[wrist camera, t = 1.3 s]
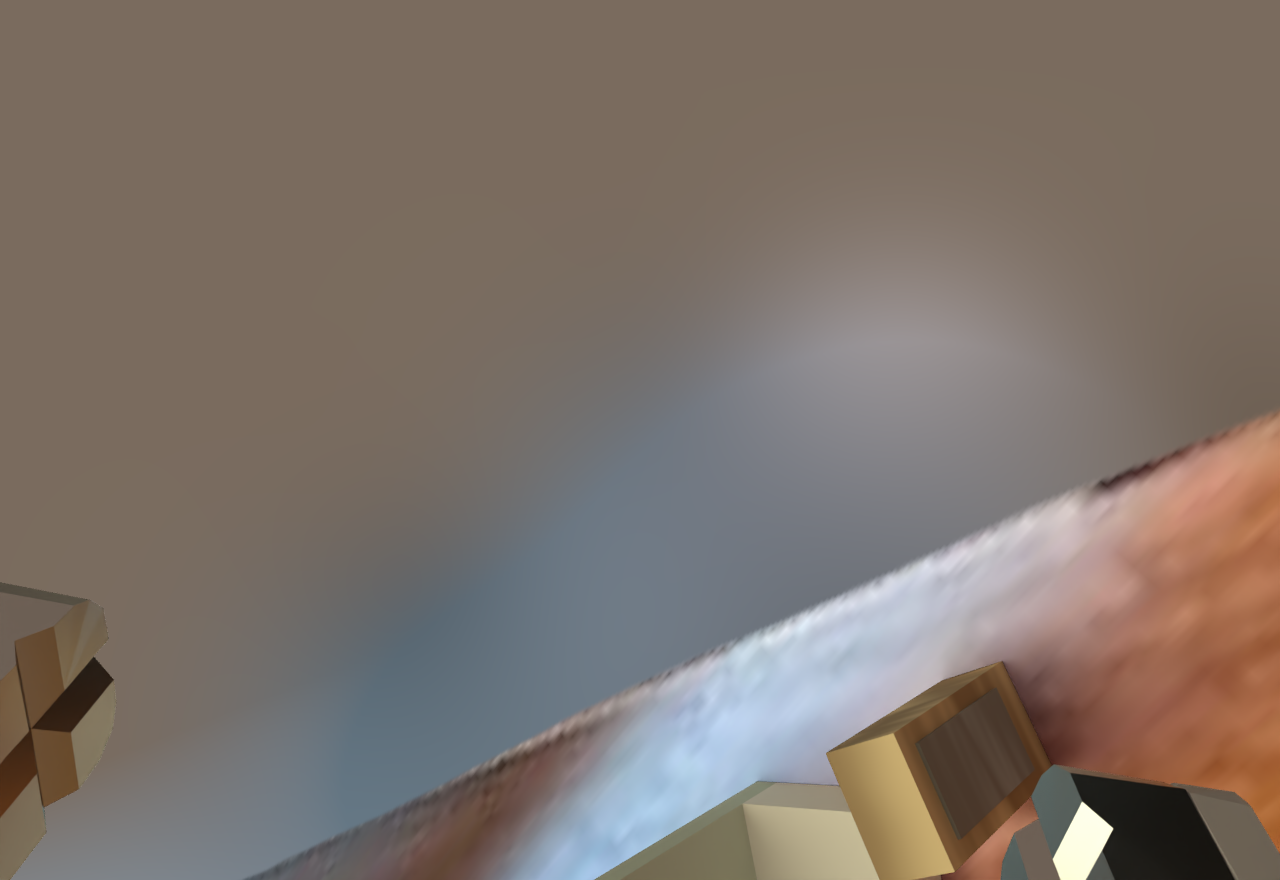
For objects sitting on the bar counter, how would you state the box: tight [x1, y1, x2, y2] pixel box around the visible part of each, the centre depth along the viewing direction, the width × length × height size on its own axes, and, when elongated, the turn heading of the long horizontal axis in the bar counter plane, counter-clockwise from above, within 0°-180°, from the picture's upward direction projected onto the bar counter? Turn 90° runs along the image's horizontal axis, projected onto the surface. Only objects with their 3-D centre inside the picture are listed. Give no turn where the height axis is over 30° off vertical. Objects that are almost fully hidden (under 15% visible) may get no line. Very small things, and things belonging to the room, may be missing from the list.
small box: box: [826, 661, 1052, 880], centre depth 38 cm, size 3×5×10 cm
